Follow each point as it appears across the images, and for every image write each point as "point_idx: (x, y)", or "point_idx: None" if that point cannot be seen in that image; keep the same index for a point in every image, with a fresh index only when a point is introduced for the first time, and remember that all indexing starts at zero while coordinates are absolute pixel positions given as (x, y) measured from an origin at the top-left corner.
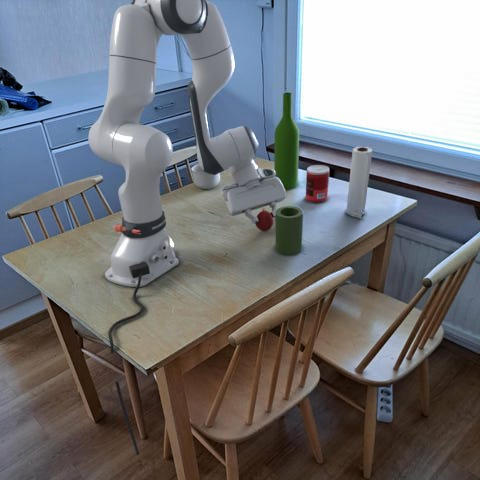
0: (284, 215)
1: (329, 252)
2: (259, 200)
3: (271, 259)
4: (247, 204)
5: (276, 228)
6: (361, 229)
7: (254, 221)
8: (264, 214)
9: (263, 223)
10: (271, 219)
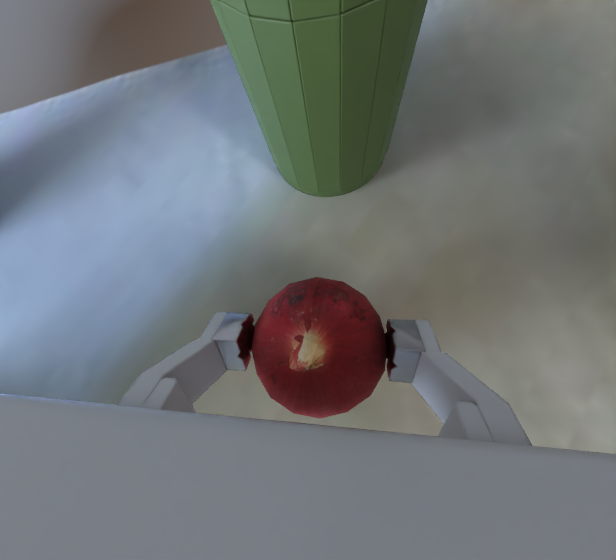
0: (288, 26)
1: (226, 53)
2: (298, 490)
3: (445, 110)
4: (565, 516)
5: (422, 17)
6: (28, 125)
7: (429, 326)
8: (332, 313)
9: (360, 293)
10: (292, 285)
